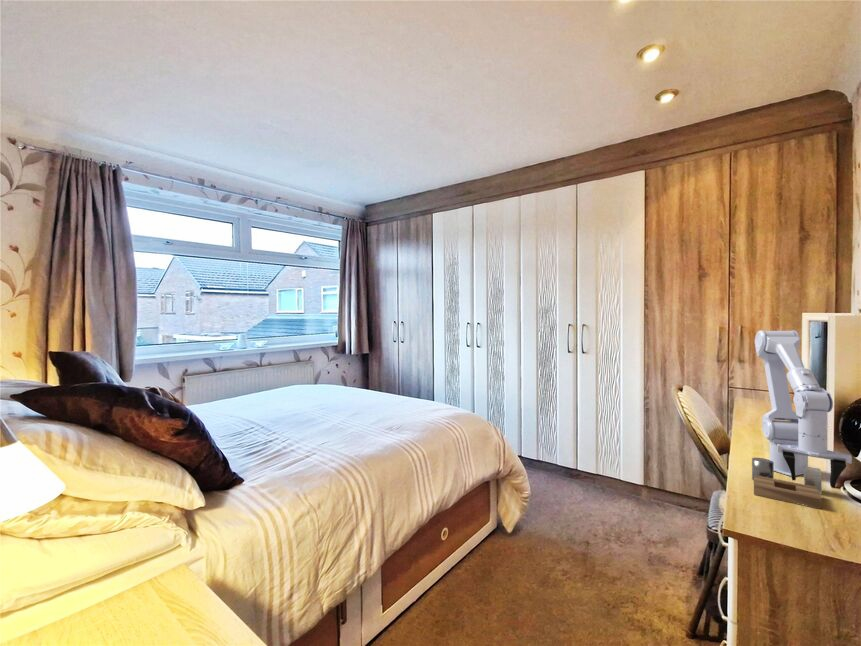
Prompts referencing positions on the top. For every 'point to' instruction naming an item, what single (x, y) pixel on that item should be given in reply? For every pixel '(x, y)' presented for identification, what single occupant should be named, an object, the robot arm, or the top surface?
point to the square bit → (813, 477)
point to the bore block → (787, 491)
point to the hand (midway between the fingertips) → (812, 482)
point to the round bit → (762, 468)
